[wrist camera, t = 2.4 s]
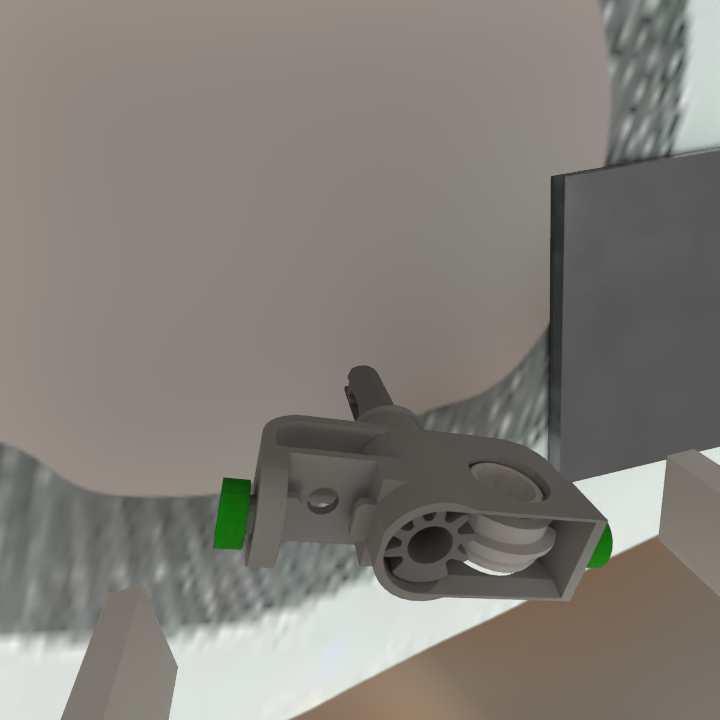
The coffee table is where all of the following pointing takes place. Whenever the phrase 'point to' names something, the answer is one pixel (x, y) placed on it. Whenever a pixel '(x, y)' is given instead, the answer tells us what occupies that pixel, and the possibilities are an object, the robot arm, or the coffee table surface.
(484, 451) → the mechanical component
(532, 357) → the coffee table surface
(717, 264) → the plate
